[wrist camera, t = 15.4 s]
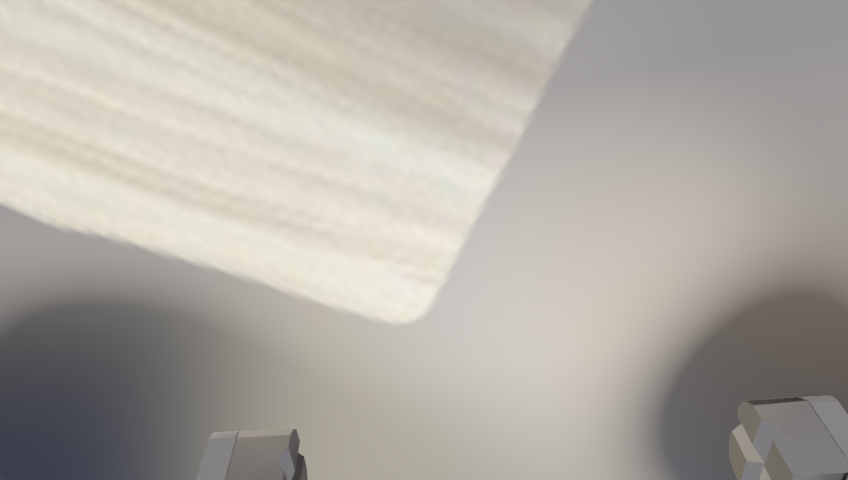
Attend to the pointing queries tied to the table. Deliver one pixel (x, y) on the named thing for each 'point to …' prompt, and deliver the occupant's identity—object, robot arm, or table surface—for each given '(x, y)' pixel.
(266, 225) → the table surface
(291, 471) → the robot arm
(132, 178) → the table surface
